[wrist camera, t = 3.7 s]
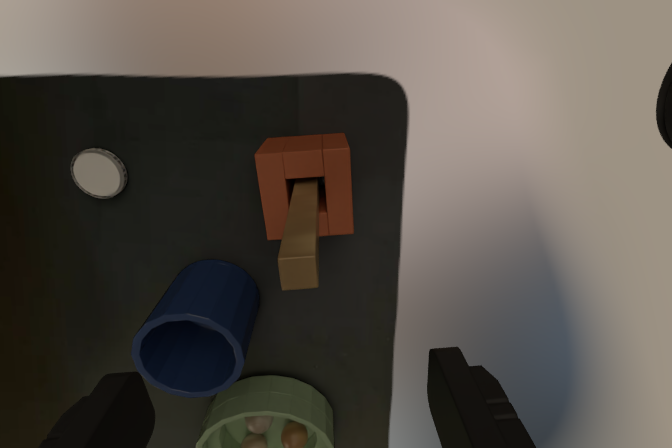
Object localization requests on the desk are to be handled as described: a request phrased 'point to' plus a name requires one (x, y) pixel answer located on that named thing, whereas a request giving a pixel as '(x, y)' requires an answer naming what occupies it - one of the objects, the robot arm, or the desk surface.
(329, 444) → the bowl
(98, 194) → the grey bottle cap
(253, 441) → the bead
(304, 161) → the holder
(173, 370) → the crock
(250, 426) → the bead
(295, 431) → the bead
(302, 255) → the stick
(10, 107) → the desk surface
